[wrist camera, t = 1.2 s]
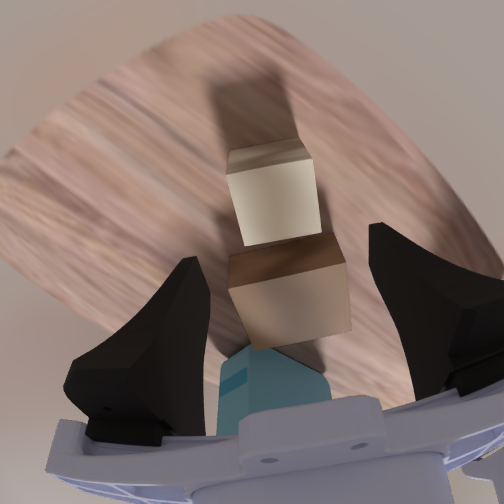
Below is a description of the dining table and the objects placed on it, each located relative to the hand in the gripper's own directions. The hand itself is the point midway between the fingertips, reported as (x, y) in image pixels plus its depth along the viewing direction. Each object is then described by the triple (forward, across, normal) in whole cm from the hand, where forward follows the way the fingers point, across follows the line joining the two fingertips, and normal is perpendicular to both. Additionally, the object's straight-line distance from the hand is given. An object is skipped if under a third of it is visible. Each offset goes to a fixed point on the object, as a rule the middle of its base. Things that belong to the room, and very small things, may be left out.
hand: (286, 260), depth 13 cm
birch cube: (+10, 0, 0) cm, 10 cm away
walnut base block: (+10, 0, +9) cm, 13 cm away
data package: (+10, +3, +21) cm, 23 cm away
